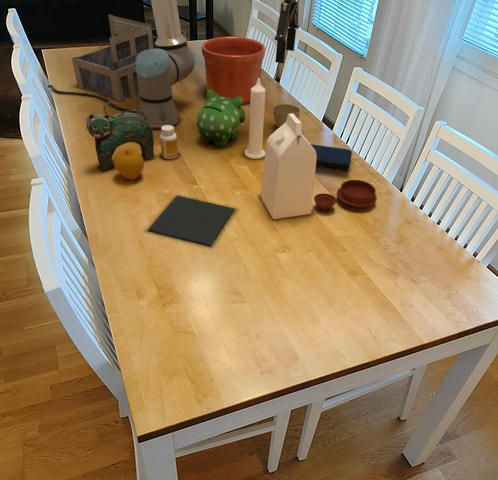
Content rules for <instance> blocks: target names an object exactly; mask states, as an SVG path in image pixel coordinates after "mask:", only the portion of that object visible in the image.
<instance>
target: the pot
mask: <svg viewBox="0 0 498 480" xmlns="http://www.w3.org/2000/svg"><path fill="white" fill-rule="evenodd" d="M201 53H202V57H203V59H204V69H205V87H206V92H207V91H208V90H213V91H214V92H215V93H216V94H217V95H218V96H221V97H226V98H229V99H231V98H235V97H242V99H243V102H242V105H245V104H246V105H247V104H250V100H251V88H252V87H254V86H255V85H256V84H257V80H258V78H260V79H261V78H262V76H261V75H262V65H263V60H264V58H265V55H266V46H265V45H264V44H263V43H262V42H260V41H259V40H255V39H253V38H249V37H241V36H221V37H220V36H219V37H214V38H210V39H207V40H205V41H203V42H202V44H201Z"/></svg>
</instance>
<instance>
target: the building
mask: <svg viewBox="0 0 498 480" xmlns="http://www.w3.org/2000/svg"><path fill="white" fill-rule="evenodd" d="M107 16H108V22H109V29H110V37H109V45H108V46H107V47H104V48H101V49H99V50H95V51H92V52H90V53H86V54H83V55H81V56H74V57H71V62H72V66H73V72H74V76H75V80H76V84H77V88H78V89H81V90H87V91H91V92H94V93H96V94H100V95H104V96H106V97H108V98H112V99H113V100H114V101H116V102H117V101H118V102H123V101H124V99H126V98H128V97H130V98H132V97H134V96H136V94H137V93H139V87H138V80H137V72H136V57H137V55H138V54H139V53H141V52H142V51H144V50H150V49H153V39H152V29H153V28H152V24H151V23H147V22H140V21H136V20H132V19H129V18H124V17H119V16H115V15H113V14H110V13H109V14H107Z"/></svg>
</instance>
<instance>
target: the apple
mask: <svg viewBox="0 0 498 480" xmlns="http://www.w3.org/2000/svg"><path fill="white" fill-rule="evenodd" d="M113 166H114V168H115V170H116V171H117V172H118V173H119V174H120V175H121V176H122V177H123V178H125V179H127V180H131V181H132V180H135V179H137V178H138V177H139V176H140V174H141V173H142V171H143V169H144V167H145V161H144V157H143V156H142V153H140V152H139V151H138V150H137V149H134V148H123V149H121V150H119V151H118V152H116V154H115V155H114V158H113Z"/></svg>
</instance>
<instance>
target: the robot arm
mask: <svg viewBox="0 0 498 480" xmlns="http://www.w3.org/2000/svg"><path fill="white" fill-rule="evenodd" d="M299 1H300V0H284V1H283V2H281V3H280V11H279V17H278V23H277V28H276V34H275V36H274V41H276V50H275V60H274V61H275V63H277V64H285V58H286V51H291V52H294V51H295V44H296V35H297V30H298V29H299V28H300V24H299V6H300V5H299V3H300V2H299ZM150 4H151V9H152V13H153V19H154V25H155V28H156V30H157V36H158V38H157V40H156V41H155V48H156V49H150V50H144V51H142V52H141V53H139V54H138V55H137V57H136V72H137V80H138V87H139V92H138V95H139V105H138V109H137V110H139V111H141V112H142V113H143V114H144V115H145V117H146V119H147V121H146V122H147V123H148V125H149V127H150V128H151V130H161V127H162V126H165V125H171V126H173V127H174V126H176V125H177V124H178V123H179V121H180V116H179V113H178V109H179V105H178V104H177V103H176V102H175V101H174V100H173V90H172V86H174V85H175V84H177V83H179V82H180V81H183V80H184V79H187V78H188V77H189V76H190V75H191V74H192V73H193V71H194V68H195V65H196V57H195V52H194V50H193V48H191V46H190V45H189V44H188V40H187V37H186V38H185V37H184V36H182V34H181V30H182V29H181V22H180V16H179V9H178V2H177V0H150ZM47 88H49V89H50V88H51V89H52V90H53V91H54V92H56V93H58V94H65V95H81V96H89V97H92V98H93V97H94V98H97V99H101V100H103V101H105V102H106V103H108V102H111V100H109V99H108V98H105V97H103V96H100V95H97V94H93V93H87V92H78V91H77V92H76V91H63V90H58V89H56V88H55V87H54V86H53V85H52V84H48V85H47ZM109 105H110V106H111V107H112V108H115V109H117V110H121V111H123V112H125V111H127V110H131V109H129V108H125V107H120V106H118V105H114V104H111V103H110V104H109ZM129 113H134V112H133V111H129ZM136 114H137V115H139V116H141V117H142V118H143V119H145V117H144V115H143V114H141V113H139V112H137V113H136Z"/></svg>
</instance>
